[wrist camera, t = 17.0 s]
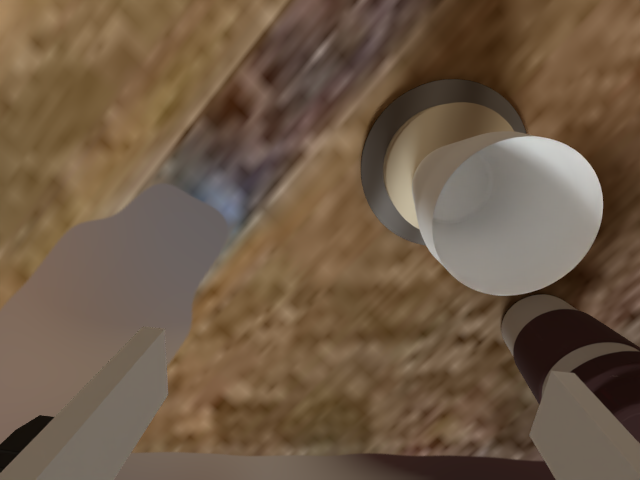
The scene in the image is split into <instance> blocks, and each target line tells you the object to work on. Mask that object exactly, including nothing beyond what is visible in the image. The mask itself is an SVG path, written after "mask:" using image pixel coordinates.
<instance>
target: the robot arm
mask: <svg viewBox="0 0 640 480" xmlns="http://www.w3.org/2000/svg"><path fill="white" fill-rule="evenodd" d="M167 395H168V383H167V363H166V343H165V329H160V328H151V327H142V328H141V329H140V330H139V331H138V332H137V333H136V334H135V335H134V336H133V337H132V338H131V339H130V340H129V341H128V342H127V343H126V344H125V346H123V348H122V349H121V350H120V351H119V352H118V353H117V354H116V355H115V356H114V357H113V358H112V359H111V360H110V361H109V362H108V363H107V364H106V365H105V366H104V367H103V368H102V369H101V370H100V371H99V372H98V373H97V374H96V375H95V376H94V377H93V379H91V380H90V381H89V383H87V385H86V386H85V387H84V388H83V389H82V390H81V391H80V392H79V393H78V394H77V395H76V396H75V397H74V398H73V399H72V400H71V401H70V402H69V403H68V404H67V405H66V406H65V407H64V408H63V409H62V410H61V411H60V412H59V413H58V414H57V415H56V416H55V417H50V416H41V415H40V416H38V417H36V418H35V419H33V420H31V421H30V422H28V423H26V424H25V425H23V426H22V427H20V428H18V429H17V430H15V431H14V432H13V433H12V434H11V435H10V436H9V437H8V438H7V439H6V440H5V441H4V442H2V443H1V444H0V480H114V478H115V477H116V475H117V474H118V472H119V471H120V469H121V467H122V466H123V464H124V463H125V461H126V460H127V458H128V457H129V455H130V453H131V452H132V450H133V449H134V447H135V446H136V444H137V442H138V441H139V439H140V438H141V436H142V435H143V433H144V431H145V430H146V428H147V427H148V425H149V424H150V422H151V420H152V419H153V417H154V416H155V414H156V413H157V411H158V409H159V408H160V406H161V405H162V403H163V402H164V400H165V399H166V397H167ZM530 437H531V439H532V440H533V442H534V444H535V445H536V447H537V449H538V450H539V452H540V454H541V455H542V457H543V459H544V460H545V462H546V464H547V465H548V467H549V469H550V470H551V472H552V474H553V475H554V477H555V479H556V480H640V443H639V442H638V441H637V440H636V439H635V438H634V437H633V436H632V435H631V434H630V433H629V432H628V430H627V429H626V428H625V427H624V426H623V425H622V424H621V423H620V422H619V421H618V420H617V419H616V418H615V416H614V415H613V414H612V413H611V412H610V411H609V410H608V409H607V408H606V407H605V406H604V405H603V403H602V402H601V401H600V400H599V399H598V398H597V397H596V396H595V395H594V394H593V393H592V392H591V391H590V389H589V388H588V387H587V386H586V385H585V384H584V383H583V382H582V381H581V380H580V379H579V378H578V377H577V375H576V374H575V373H568V372H559V371H551V373H550V376H549V379H548V381H547V384H546V387H545V390H544V393H543V396H542V399H541V402H540V405H539V408H538V411H537V414H536V417H535V420H534V423H533V426H532V429H531V432H530Z"/></svg>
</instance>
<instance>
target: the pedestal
mask: <svg viewBox="0 0 640 480" xmlns="http://www.w3.org/2000/svg"><path fill="white" fill-rule="evenodd" d="M500 131H513V132H520V133H525V134H526V131H525V128H524V125H523V123H522V121H521V118H520V117H519V115H518V114H517V112H516V110H515V109H514V108H513V107H512V105H511V104H510V103H509V102H508V101H507V100H506V99H505V98H504V97H502V96H501V95H500V94H499V93H497V92H496V91H494V90H492V89H491V88H489V87H487V86H484V85H482V84H480V83H476V82H472V81H468V80H460V79H445V80H439V81H433V82H430V83H427V84H423V85H421V86H418V87H416V88H414V89H412V90H410V91H408V92H406V93H405V94H403V95H402V96H400V97H399V98H397V99H396V100H395V101H394V102H392V103H391V104H390V105H389V106H388V107H387V108H386V109H385V110H384V111H383V112H382V114H381V115H380V116H379V118H378V119H377V120H376V122H375V123H374V125H373V127H372V129H371V130H370V132H369V135H368V137H367V139H366V142H365V145H364V149H363V153H362V160H361V179H362V185H363V189H364V193H365V196H366V199H367V201H368V204H369V206H370V207H371V209H372V211H373V213H374V214H375V215H376V217H377V218H378V219H379V220H380V222H381V223H382V224H383V225H385V226H386V227H387V228H388V229H389V230H390V231H392V232H393V233H394V234H396V235H398V236H400V237H402V238H403V239H406V240H408V241H411V242H414V243H418V244H422V245H426V244H425V242H424V240H423V238H422V235H421V232H420V229H419V225H418V220H417V215H416V210H415V205H414V200H413V195H412V180H413V176H414V173H415V171H416V169H417V167H418V165H419V164H420V162H421V161H422V160H423V159H424V158H425V157H426V156H427V155H428V154H429V153H431V152H432V151H434V150H436V149H438V148H440V147H443V146H446V145H449V144H452V143H455V142H458V141H461V140H465V139H468V138H471V137H474V136H478V135H481V134H485V133H490V132H500Z"/></svg>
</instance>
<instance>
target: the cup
mask: <svg viewBox="0 0 640 480" xmlns="http://www.w3.org/2000/svg"><path fill="white" fill-rule="evenodd" d="M412 195H413V200H414V205H415V210H416V215H417V220H418V225H419V229H420V232H421V235H422V238H423V240H424V242H425V244H426V246H427V247H428V249H429V251H430V252H431V253H432V255H433V256H434V257H435V258H436V259H437V260H438V261H439V262H440V263H441V264H442V265H443V266H444V267H445V268H446V269H447V270H448V272H449V273H450V274H451V275H452V276H453V277H455V278H456V279H457V280H458V281H460V282H461V283H462V284H464V285H466V286H468V287H469V288H471V289H474V290H476V291H479V292H482V293H486V294H491V295H499V296H511V295H520V294H525V293H530V292H533V291H536V290H539V289H542V288H544V287H546V286H548V285H550V284H552V283H554V282H556V281H557V280H559V279H561V278H562V277H563V276H565V275H566V274H568V273H569V272H570V271H571V270H572V269H573V268H574V267H575V266H576V265H577V264H578V263H579V262H580V261H581V260H582V259H583V258H584V256H585V255H586V254H587V252H588V251H589V249H590V248H591V246H592V244H593V242H594V240H595V238H596V236H597V234H598V231H599V228H600V224H601V220H602V214H603V195H602V190H601V186H600V183H599V180H598V177H597V175H596V173H595V171H594V170H593V168H592V167H591V165H590V164H589V163H588V161H587V160H586V159H585V158H584V157H583V156H582V155H581V154H580V153H578V152H577V151H576V150H574V149H573V148H571V147H569V146H568V145H566V144H563V143H561V142H559V141H556V140H553V139H548V138H544V137H538V136H532V135H529V134H525V133H520V132H513V131H500V132H490V133H485V134H481V135H478V136H474V137H471V138H468V139H465V140H461V141H458V142H455V143H452V144H449V145H446V146H443V147H440V148H438V149H436V150H434V151H432V152H431V153H429V154H428V155H427V156H426V157H425V158H424V159H423V160H422V161H421V162H420V164H419V165H418V167H417V169H416V171H415V173H414V176H413V180H412Z"/></svg>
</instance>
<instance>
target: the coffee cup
mask: <svg viewBox="0 0 640 480" xmlns="http://www.w3.org/2000/svg"><path fill="white" fill-rule="evenodd" d="M502 336H503V339H504V341H505V343H506V345H507V346H508V348H509V350H510V351H511V353H512V355H513V356H514V360H515V363H516V365H517V367H518V369H519V371H520V372H521V374H522V376H523V377H524V379H525V381H526V383H527V384H528V386H529V388H530V389H531V391H532V393H533V394H534V396H535V398H536V400H537V401H538V403H539V405H540V402H541V399H542V396H543V393H544V390H545V387H546V384H547V381H548V379H549V376H550V373H551V371H559V372H568V373H575V374H576V375H577V377H578V378H579V379H580V380H581V381H582V382H583V383H584V384H585V385H586V386H587V387H588V388H589V389H590V391H591V392H592V393H593V394H594V395H595V396H596V397H597V398H598V399H599V400H600V401H601V402H602V403H603V405H604V406H605V407H606V408H607V409H608V410H609V411H610V412H611V413H612V414H613V415H614V416H615V418H616V419H617V420H618V421H619V422H620V423H621V424H622V425H623V426H624V427H625V428H626V429H627V430H628V432H629V433H630V434H631V435H632V436H633V437H634V438H635V439H636V440H637V441H638V442H639V443H640V348H639V347H638V346H637V345H635V344H633V343H632V342H630V341H629V340H627V339H626V338H624V337H623V336H621V335H620V334H618V333H617V332H615V331H613V330H612V329H610V328H609V327H607V326H606V325H604V324H603V323H601V322H600V321H598V320H597V319H595V318H593V317H592V316H590V315H588V314H586V313H584V312H581V311H579V310H577V309H575V308H574V307H572V306H571V305H569V304H568V303H566V302H565V301H563V300H562V299H560V298H558V297H555V296H551V295H545V294H543V295H532V296H529V297H526V298H523V299H522V300H520V301H518V302H517V303H515V304H514V305H513V306H512V307H511V308H510V309H509V310H508V311H507V313H506V315H505V316H504V319H503V322H502Z"/></svg>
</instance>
